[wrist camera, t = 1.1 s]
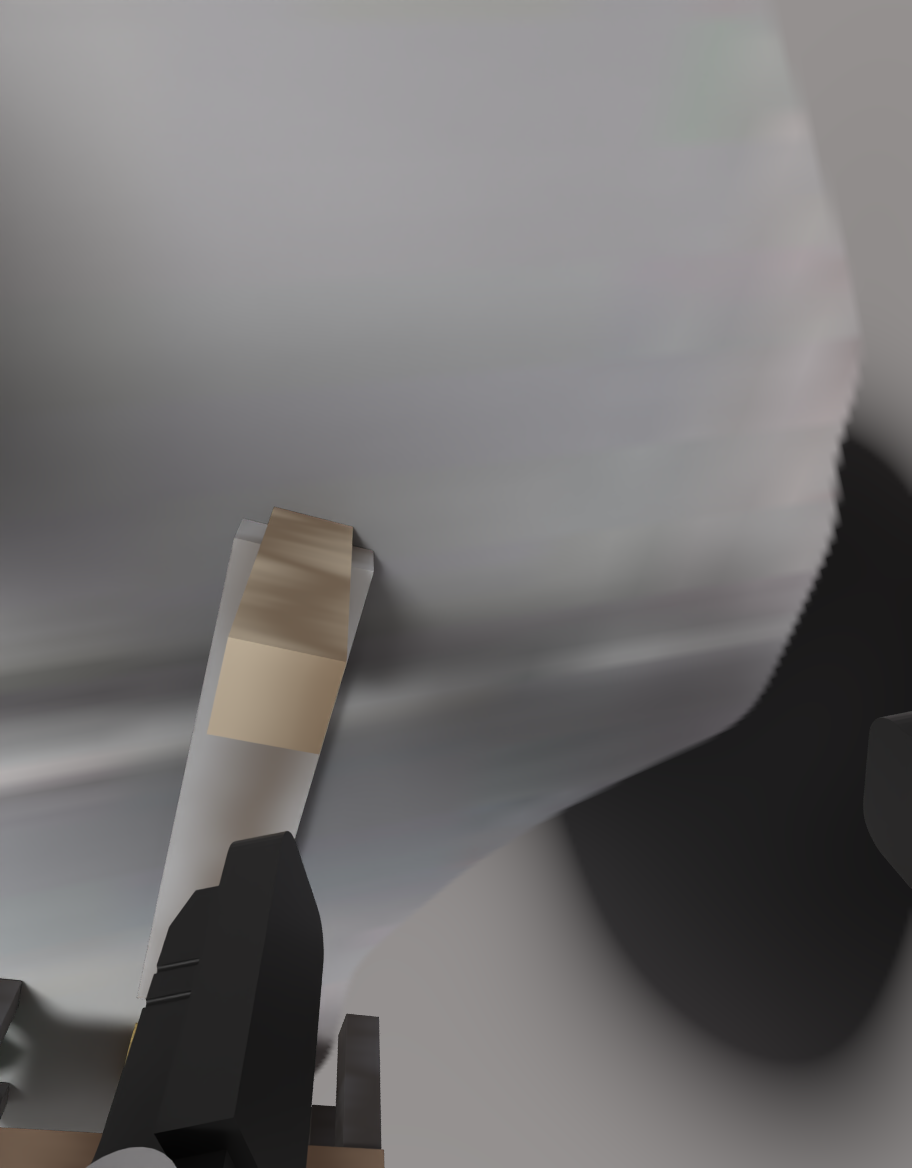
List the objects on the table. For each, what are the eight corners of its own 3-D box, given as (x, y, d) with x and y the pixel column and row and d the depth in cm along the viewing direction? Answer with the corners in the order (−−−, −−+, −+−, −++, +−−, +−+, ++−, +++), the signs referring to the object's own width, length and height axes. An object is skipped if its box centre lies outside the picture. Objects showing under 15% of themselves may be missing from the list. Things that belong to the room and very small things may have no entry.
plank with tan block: (148, 960, 36) (75, 1199, 27) (246, 499, 27) (186, 628, 18) (250, 971, 37) (213, 1204, 28) (378, 533, 28) (384, 670, 19)
